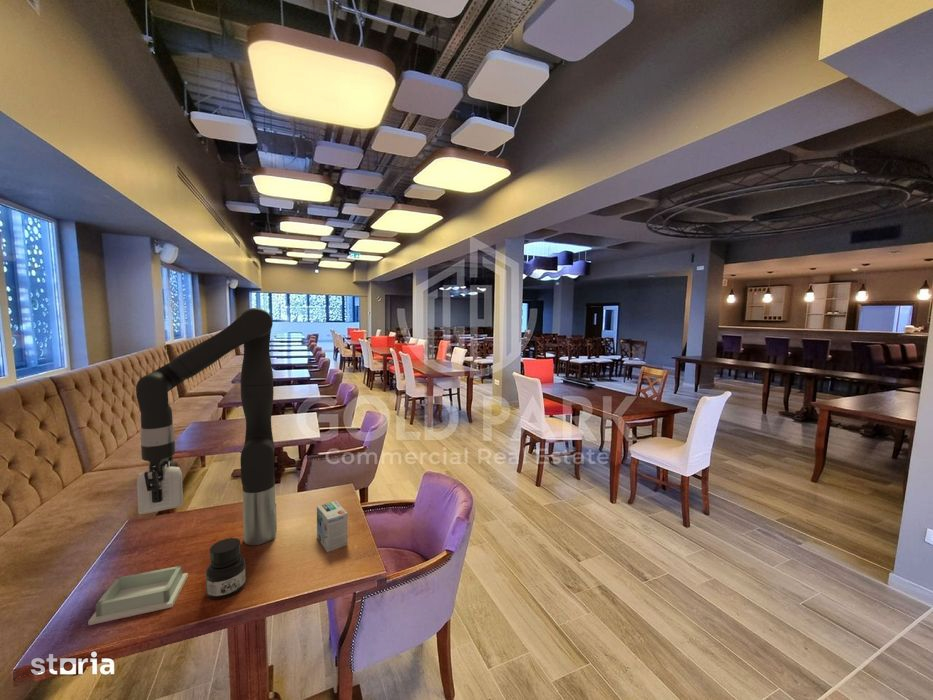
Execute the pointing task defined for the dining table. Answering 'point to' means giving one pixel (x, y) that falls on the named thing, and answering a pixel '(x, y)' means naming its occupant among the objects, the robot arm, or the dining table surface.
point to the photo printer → (170, 492)
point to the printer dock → (139, 594)
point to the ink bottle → (225, 569)
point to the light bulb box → (332, 526)
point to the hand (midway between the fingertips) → (161, 497)
